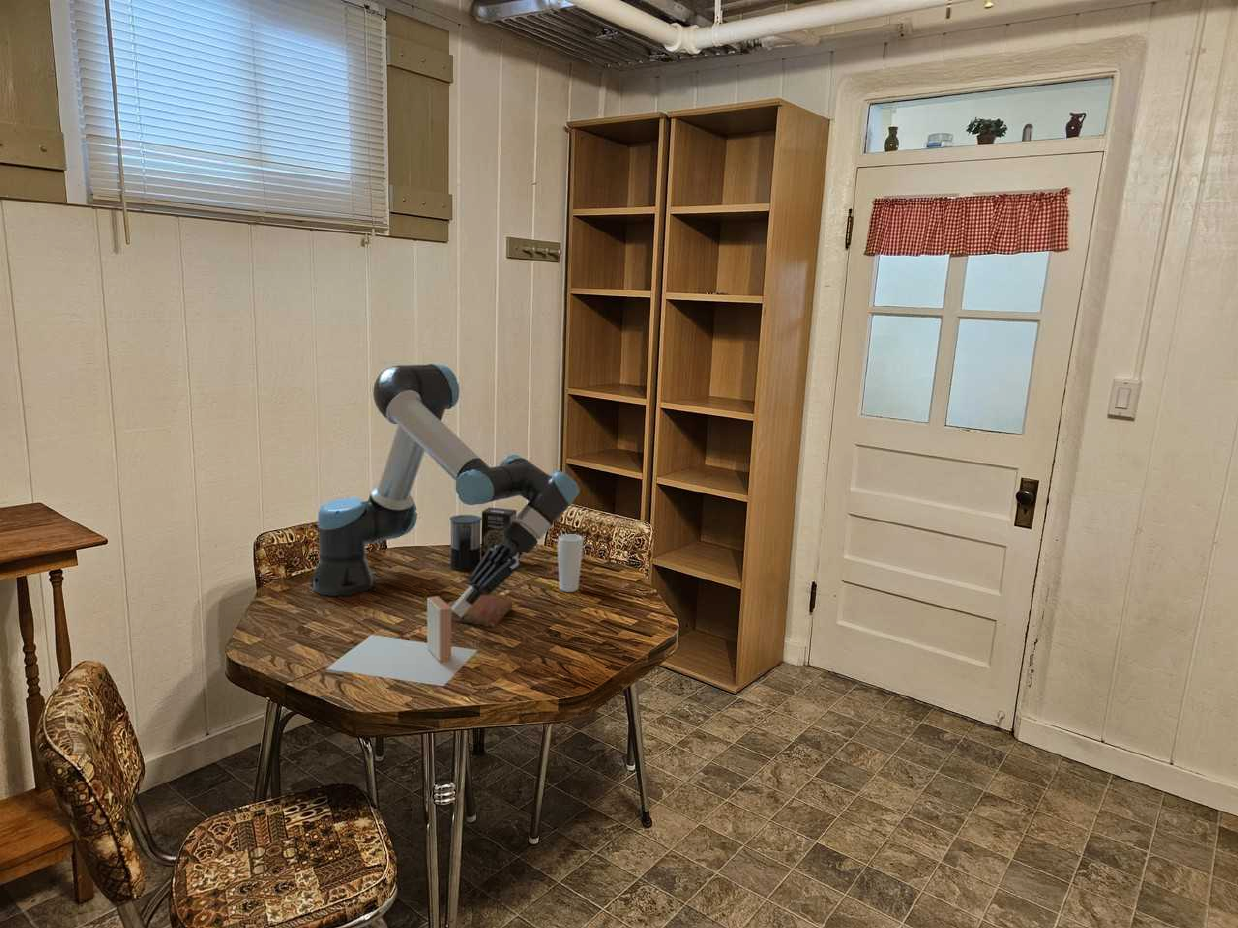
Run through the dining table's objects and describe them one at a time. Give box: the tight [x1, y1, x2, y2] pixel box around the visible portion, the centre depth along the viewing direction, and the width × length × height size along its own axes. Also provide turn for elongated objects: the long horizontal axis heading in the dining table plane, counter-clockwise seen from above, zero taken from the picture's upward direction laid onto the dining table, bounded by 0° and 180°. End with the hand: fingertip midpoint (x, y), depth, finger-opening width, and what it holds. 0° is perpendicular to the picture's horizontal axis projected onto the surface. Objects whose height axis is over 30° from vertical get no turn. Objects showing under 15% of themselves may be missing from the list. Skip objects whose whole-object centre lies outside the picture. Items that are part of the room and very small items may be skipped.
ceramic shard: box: [446, 594, 514, 628], centre depth 195 cm, size 15×6×15 cm
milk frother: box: [449, 514, 482, 572], centre depth 230 cm, size 14×16×15 cm
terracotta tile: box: [426, 595, 452, 663], centre depth 170 cm, size 2×8×12 cm, turn 33°
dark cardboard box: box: [480, 507, 517, 560], centre depth 236 cm, size 9×6×16 cm
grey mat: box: [325, 634, 478, 687], centre depth 168 cm, size 26×18×1 cm
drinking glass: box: [557, 533, 584, 593], centre depth 216 cm, size 7×7×15 cm
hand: (455, 612), depth 171 cm, fingers closed
